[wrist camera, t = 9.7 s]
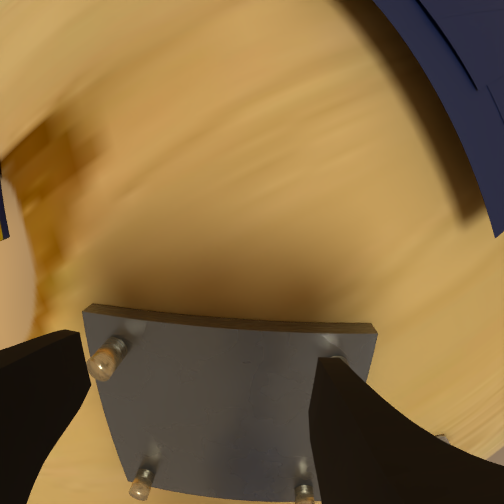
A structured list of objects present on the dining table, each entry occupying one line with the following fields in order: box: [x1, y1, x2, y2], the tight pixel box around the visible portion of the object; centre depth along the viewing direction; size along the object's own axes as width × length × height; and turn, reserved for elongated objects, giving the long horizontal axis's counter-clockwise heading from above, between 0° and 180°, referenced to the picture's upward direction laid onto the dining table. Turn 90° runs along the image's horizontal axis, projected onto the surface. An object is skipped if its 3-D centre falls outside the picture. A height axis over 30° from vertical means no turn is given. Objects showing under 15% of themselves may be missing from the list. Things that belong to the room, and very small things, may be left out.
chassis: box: [82, 304, 378, 504], centre depth 17 cm, size 16×16×4 cm
